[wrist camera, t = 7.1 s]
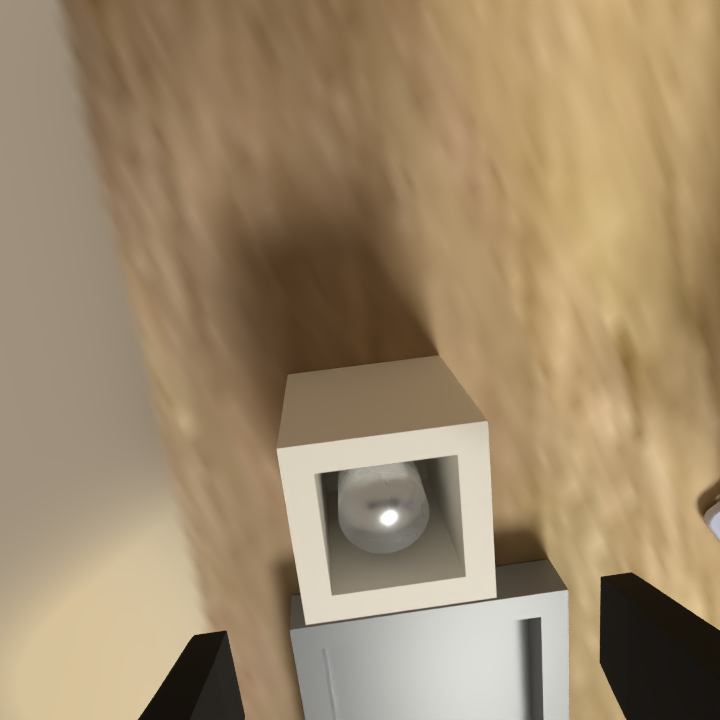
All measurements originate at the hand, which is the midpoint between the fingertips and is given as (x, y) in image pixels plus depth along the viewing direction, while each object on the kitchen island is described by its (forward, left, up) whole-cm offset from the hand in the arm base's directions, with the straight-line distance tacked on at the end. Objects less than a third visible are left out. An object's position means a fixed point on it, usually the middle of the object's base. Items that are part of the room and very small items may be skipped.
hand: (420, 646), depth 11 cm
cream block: (0, 0, -10) cm, 10 cm away
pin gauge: (0, 0, -10) cm, 10 cm away
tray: (+7, +11, -10) cm, 16 cm away
